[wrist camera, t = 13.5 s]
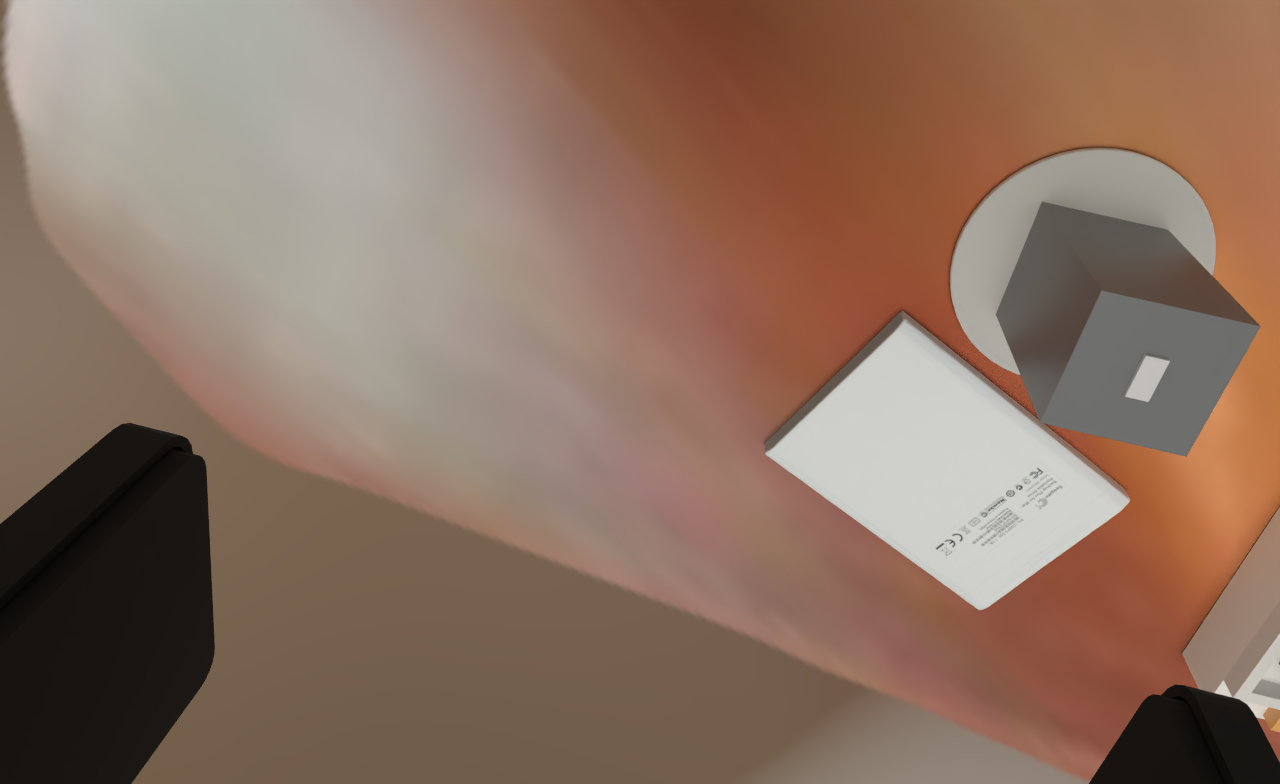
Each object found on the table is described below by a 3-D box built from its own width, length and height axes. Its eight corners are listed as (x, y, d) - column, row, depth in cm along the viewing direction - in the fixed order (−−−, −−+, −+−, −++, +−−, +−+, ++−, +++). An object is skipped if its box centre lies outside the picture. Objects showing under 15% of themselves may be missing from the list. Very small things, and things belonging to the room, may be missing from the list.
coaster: (1002, 121, 34) (1005, 123, 33) (1261, 180, 33) (1265, 184, 33) (916, 346, 38) (917, 351, 38) (1143, 400, 38) (1146, 405, 37)
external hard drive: (901, 303, 38) (1122, 482, 40) (764, 436, 42) (974, 591, 44) (905, 321, 37) (1134, 504, 39) (763, 456, 40) (979, 616, 43)
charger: (1041, 201, 34) (1103, 292, 27) (1168, 229, 34) (1262, 328, 27) (995, 314, 37) (1041, 425, 29) (1114, 341, 36) (1188, 459, 29)
